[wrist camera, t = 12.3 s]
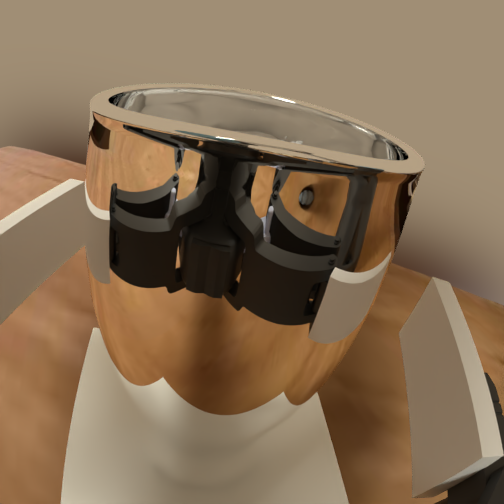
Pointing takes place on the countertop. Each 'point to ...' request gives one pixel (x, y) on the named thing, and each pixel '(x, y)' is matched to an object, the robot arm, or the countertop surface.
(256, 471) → the mat
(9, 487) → the countertop surface
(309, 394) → the beer glass
